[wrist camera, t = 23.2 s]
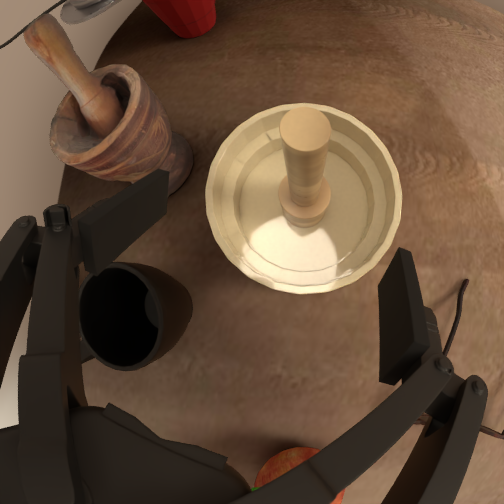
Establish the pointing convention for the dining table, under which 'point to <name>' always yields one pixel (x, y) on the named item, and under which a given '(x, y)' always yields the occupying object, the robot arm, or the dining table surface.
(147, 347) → the mug
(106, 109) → the mortar and pestle
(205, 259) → the dining table surface
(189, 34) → the plastic cup
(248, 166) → the bowl
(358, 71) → the dining table surface
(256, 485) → the fruit
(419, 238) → the dining table surface
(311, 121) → the muddler
